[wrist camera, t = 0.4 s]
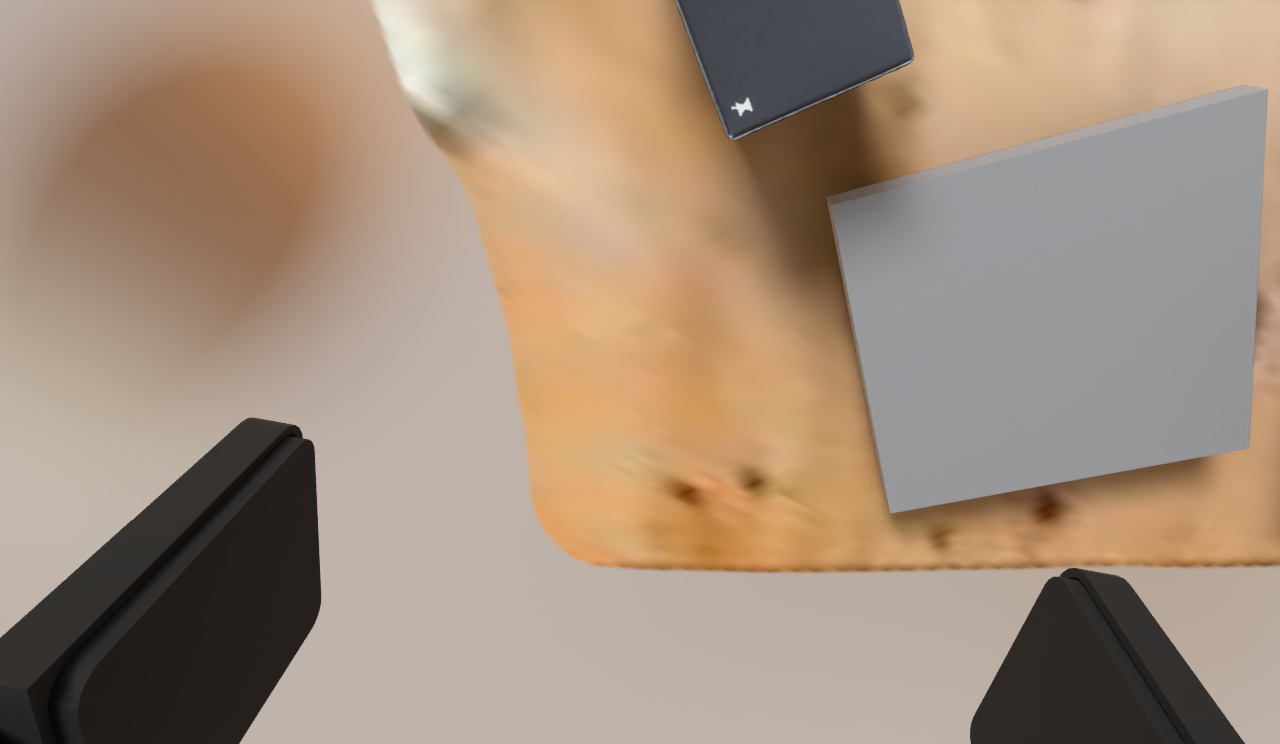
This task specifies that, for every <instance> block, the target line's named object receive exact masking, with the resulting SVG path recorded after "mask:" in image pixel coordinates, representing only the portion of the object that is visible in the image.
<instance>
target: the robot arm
mask: <svg viewBox="0 0 1280 744" xmlns="http://www.w3.org/2000/svg"><path fill="white" fill-rule="evenodd" d="M316 494H317V493H316V472H315V450H314V445H313V443H312V441H310V440H307V439H303V437H302V432H301V430H300V428H299V427H297V426H296V425H291V424H286V423H280V422H275V421H269V420H264V419H258V418H247V419H246V420H244V421H243V422H241V423H240V424H239V425H238V426H237V427H236V428H235V429H233V430H232V431H231V432H230V433H229V434H228V435H227V436H226V437H224V438H223V439H222V440H221V441H220V442H219V443H218V444H217V445H216V446H214V447H213V448H212V449H211V450H210V451H209V452H208V453H207V454H205V455H204V456H203V457H202V458H201V459H200V460H199V461H198V462H197V463H195V464H194V465H193V466H192V467H191V468H190V469H189V470H188V471H187V472H186V473H184V474H183V475H182V476H181V477H180V478H179V479H178V480H177V481H175V482H174V484H172V485H171V486H170V487H169V488H168V489H167V490H165V492H163V493H162V494H161V495H160V496H159V497H158V498H157V499H155V500H154V501H153V502H152V503H151V504H150V505H149V506H148V507H146V509H144V510H143V511H142V512H141V513H140V514H139V515H138V516H136V517H135V519H133V520H131V521H130V522H129V523H128V524H127V525H126V526H125V527H123V528H122V529H121V530H120V531H119V532H118V533H117V534H116V535H115V536H114V537H112V538H111V539H110V540H109V541H108V542H107V543H106V544H105V545H103V546H102V547H101V548H100V549H99V550H98V551H97V552H96V553H95V554H93V555H92V556H91V557H90V558H89V559H88V560H87V561H86V562H85V563H83V564H82V565H81V566H80V567H79V568H78V569H77V570H76V571H74V572H73V573H72V574H71V575H70V576H69V577H68V578H67V579H66V580H65V581H63V582H62V583H61V584H60V585H59V586H58V587H57V588H56V589H55V590H53V591H52V592H51V593H50V594H49V595H48V596H47V597H45V598H44V599H43V600H42V601H41V602H40V603H39V604H38V605H37V606H35V608H34V609H32V610H31V611H30V612H29V613H28V614H27V615H25V617H23V618H22V619H21V620H20V621H19V622H18V623H17V624H15V625H14V626H13V627H12V628H11V629H10V630H9V631H8V632H7V633H6V634H4V635H3V636H2V637H1V638H0V744H239V743H240V741H241V740H242V738H243V737H244V735H245V733H246V732H247V730H248V729H249V727H250V726H251V724H252V722H253V721H254V719H255V718H256V716H257V715H258V712H259V711H260V710H261V708H262V707H263V705H264V704H265V702H266V700H267V699H268V697H269V696H270V694H271V692H272V691H273V689H274V688H275V686H276V685H277V683H278V681H279V679H280V678H281V677H282V675H283V674H284V672H285V670H286V669H287V667H288V666H289V664H290V662H291V661H292V659H293V658H294V656H295V655H296V653H297V651H298V650H299V648H300V647H301V645H302V644H303V642H304V640H305V639H306V637H307V636H308V634H309V632H310V631H311V629H312V627H313V626H314V624H315V621H316V619H317V617H318V613H319V610H320V605H321V583H320V560H319V537H318V515H317V495H316ZM970 740H971V744H1245V743H1244V742H1243V740H1242V739H1241V738H1240V736H1239V735H1238V733H1237V732H1236V731H1235V729H1234V728H1233V727H1232V725H1231V724H1230V722H1229V721H1228V720H1227V718H1226V717H1225V715H1224V714H1223V713H1222V711H1221V710H1220V708H1219V707H1218V706H1217V704H1216V703H1215V702H1214V700H1213V699H1212V697H1211V696H1210V695H1209V693H1208V692H1207V690H1206V689H1205V688H1204V686H1203V685H1202V684H1201V682H1200V681H1199V680H1198V678H1197V677H1196V675H1195V674H1194V673H1193V671H1192V670H1191V668H1190V667H1189V666H1188V664H1187V663H1186V662H1185V660H1184V659H1183V657H1182V656H1181V654H1180V653H1179V652H1178V650H1177V649H1176V648H1175V646H1174V645H1173V644H1172V642H1171V641H1170V639H1169V638H1168V637H1167V635H1166V634H1165V632H1164V631H1163V630H1162V628H1161V627H1160V625H1159V624H1158V623H1157V621H1156V620H1155V618H1154V617H1153V616H1152V614H1151V613H1150V612H1149V610H1148V609H1147V607H1146V606H1145V605H1144V603H1143V602H1142V601H1141V599H1140V598H1139V596H1138V595H1137V594H1136V593H1135V591H1134V589H1133V588H1132V587H1131V585H1130V584H1129V583H1128V582H1127V581H1126V580H1125V579H1124V578H1121V577H1119V576H1116V575H1110V574H1105V573H1099V572H1094V571H1089V570H1083V569H1078V568H1070V569H1067V570H1066V571H1064V572H1063V573H1062V574H1061V575H1060V577H1052V578H1051V579H1049V580H1048V581H1047V583H1046V584H1045V586H1044V587H1043V589H1042V591H1041V593H1040V595H1039V597H1038V599H1037V600H1036V602H1035V604H1034V606H1033V608H1032V610H1031V611H1030V613H1029V615H1028V617H1027V619H1026V621H1025V623H1024V624H1023V626H1022V628H1021V630H1020V632H1019V634H1018V636H1017V637H1016V639H1015V641H1014V643H1013V645H1012V647H1011V648H1010V651H1009V652H1008V654H1007V656H1006V658H1005V660H1004V661H1003V663H1002V665H1001V667H1000V669H999V671H998V672H997V674H996V676H995V678H994V680H993V682H992V684H991V685H990V687H989V689H988V691H987V693H986V695H985V697H984V699H983V700H982V702H981V704H980V706H979V708H978V709H977V711H976V713H975V715H974V717H973V720H972V723H971V729H970Z"/></svg>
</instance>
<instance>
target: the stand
mask: <svg viewBox="0 0 1280 744" xmlns="http://www.w3.org/2000/svg"><path fill="white" fill-rule="evenodd" d="M1267 97H1268V89H1264V88H1257V87H1251V86H1244V85H1241V86H1237V87H1233V88H1229V89H1226V90H1222V91H1218V92H1215V93H1211V94H1207V95H1203V96H1200V97H1196V98H1192V99H1188V100H1185V101H1181V102H1177V103H1174V104H1170V105H1166V106H1162V107H1159V108H1155V109H1151V110H1148V111H1144V112H1140V113H1136V114H1133V115H1129V116H1125V117H1122V118H1118V119H1114V120H1110V121H1107V122H1103V123H1099V124H1096V125H1092V126H1088V127H1084V128H1081V129H1077V130H1073V131H1069V132H1066V133H1062V134H1058V135H1055V136H1051V137H1047V138H1043V139H1040V140H1036V141H1032V142H1029V143H1025V144H1021V145H1017V146H1014V147H1010V148H1006V149H1003V150H999V151H995V152H991V153H988V154H984V155H980V156H977V157H973V158H969V159H965V160H962V161H958V162H954V163H950V164H947V165H943V166H939V167H936V168H932V169H928V170H924V171H921V172H917V173H913V174H910V175H906V176H902V177H898V178H895V179H891V180H887V181H884V182H880V183H876V184H872V185H869V186H865V187H861V188H858V189H854V190H850V191H846V192H843V193H839V194H835V195H831V196H828V197H826V198H827V203H828V209H829V214H830V219H831V224H832V229H833V235H834V240H835V245H836V250H837V255H838V260H839V266H840V271H841V276H842V281H843V286H844V291H845V297H846V302H847V307H848V312H849V317H850V322H851V328H852V333H853V338H854V343H855V348H856V354H857V359H858V364H859V369H860V374H861V379H862V385H863V390H864V395H865V400H866V405H867V410H868V416H869V421H870V426H871V431H872V436H873V442H874V447H875V452H876V457H877V462H878V467H879V473H880V478H881V483H882V488H883V493H884V497H885V500H886V503H887V506H888V508H889V511H890V514H891V513H897V512H902V511H908V510H913V509H919V508H924V507H930V506H935V505H941V504H946V503H952V502H957V501H963V500H968V499H974V498H979V497H985V496H990V495H996V494H1001V493H1007V492H1012V491H1018V490H1023V489H1029V488H1034V487H1040V486H1045V485H1051V484H1056V483H1061V482H1067V481H1072V480H1078V479H1083V478H1089V477H1094V476H1100V475H1105V474H1111V473H1116V472H1122V471H1127V470H1133V469H1138V468H1144V467H1149V466H1155V465H1160V464H1166V463H1171V462H1177V461H1182V460H1188V459H1193V458H1199V457H1204V456H1210V455H1215V454H1221V453H1226V452H1232V451H1237V450H1243V449H1248V448H1249V443H1250V423H1251V404H1252V385H1253V366H1254V347H1255V327H1256V308H1257V289H1258V270H1259V250H1260V231H1261V212H1262V193H1263V174H1264V154H1265V135H1266V116H1267Z"/></svg>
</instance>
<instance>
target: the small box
mask: <svg viewBox="0 0 1280 744" xmlns="http://www.w3.org/2000/svg"><path fill="white" fill-rule="evenodd" d="M675 2H676V5H677V8H678V10H679V13H680V16H681V18H682V21H683V24H684V26H685V29H686V31H687V34H688V37H689V40H690V42H691V45H692V47H693V50H694V53H695V55H696V58H697V61H698V64H699V66H700V68H701V71H702V74H703V76H704V79H705V82H706V85H707V87H708V90H709V92H710V95H711V97H712V100H713V102H714V105H715V108H716V110H717V113H718V116H719V118H720V121H721V123H722V126H723V129H724V132H725V134H726V136H727V137H728V138H729V139H732V140H734V141H736V140H739V139H741V138H743V137H745V136H747V135H749V134H751V133H753V132H756V131H758V130H760V129H762V128H764V127H767V126H769V125H771V124H774V123H776V122H778V121H780V120H783V119H785V118H787V117H790V116H792V115H795V114H797V113H800V112H802V111H804V110H806V109H808V108H810V107H812V106H814V105H817V104H819V103H821V102H824V101H826V100H828V99H831V98H833V97H835V96H838V95H840V94H843V93H845V92H847V91H849V90H852V89H854V88H857V87H859V86H861V85H863V84H865V83H867V82H870V81H873V80H875V79H877V78H879V77H881V76H883V75H885V74H888V73H890V72H893V71H896V70H898V69H900V68H902V67H904V66H907V65H908V64H910V63H911V62H912V61H913V60H914V53H913V49H912V45H911V41H910V38H909V35H908V31H907V27H906V23H905V20H904V16H903V13H902V9H901V5H900V2H899V0H675Z"/></svg>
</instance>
